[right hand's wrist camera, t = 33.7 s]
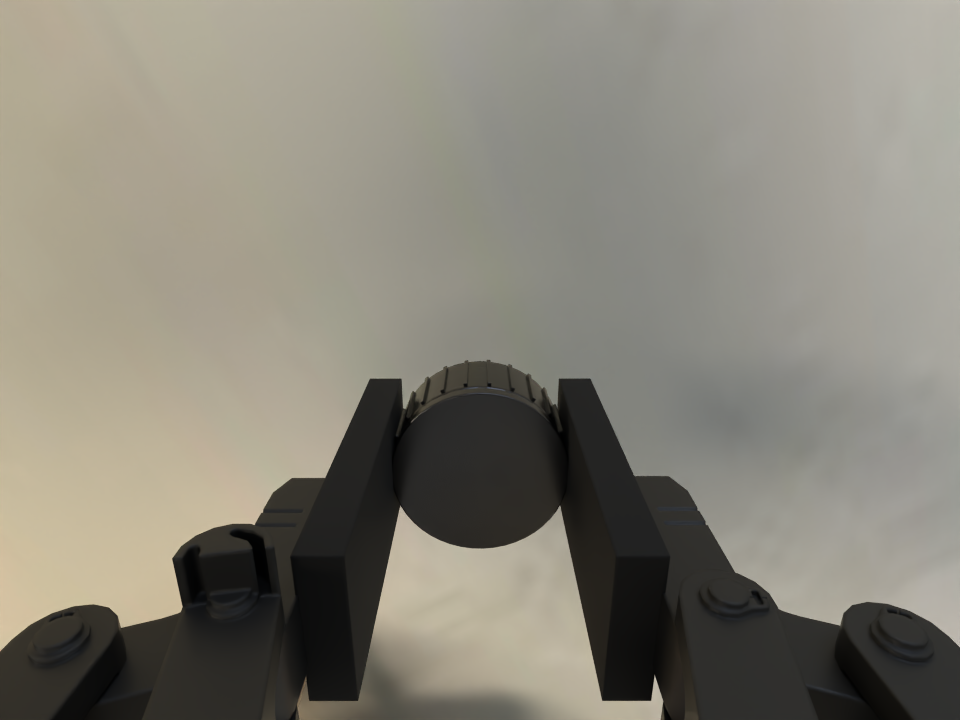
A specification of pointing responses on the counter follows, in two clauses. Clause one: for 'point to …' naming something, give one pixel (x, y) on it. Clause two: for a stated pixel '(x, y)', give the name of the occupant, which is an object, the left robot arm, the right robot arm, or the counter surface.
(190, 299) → the counter surface
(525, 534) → the cap
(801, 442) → the counter surface
